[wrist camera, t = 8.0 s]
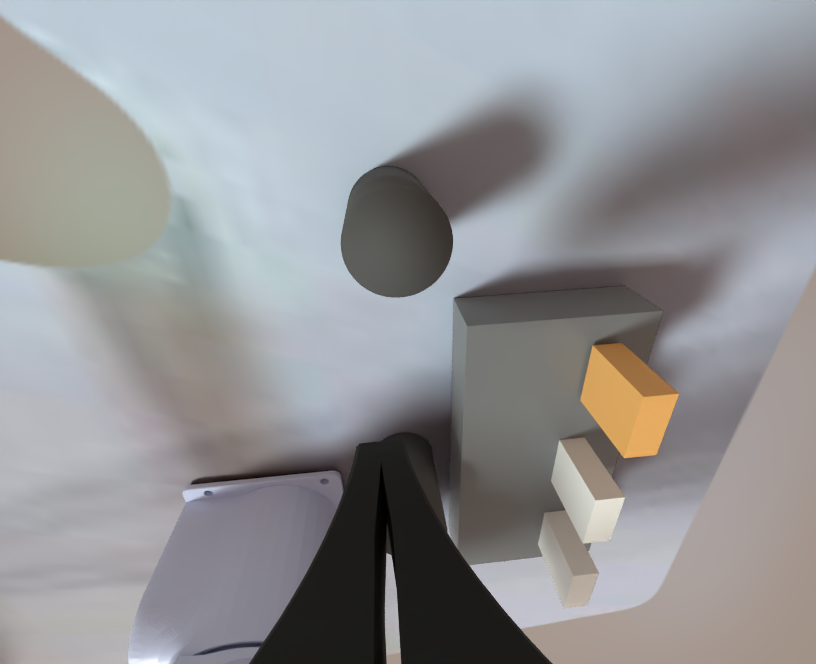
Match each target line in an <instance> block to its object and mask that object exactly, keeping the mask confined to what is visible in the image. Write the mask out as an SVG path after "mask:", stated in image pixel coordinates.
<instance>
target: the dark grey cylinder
mask: <svg viewBox="0 0 816 664" xmlns="http://www.w3.org/2000/svg"><path fill="white" fill-rule="evenodd" d="M452 248H453V235H452V229H451V226H450V222H449V220H448V218H447V216H446V214H445V212H444V211H443V209H442V208H441V207H440V206H439V204H438V203H437V202H436V201H435V200H434V198H433V197H432V196H431V195H430V194H429V192H428V191H427V190H426V189H425V188H424V186H423V185H422V184H421V183H420V182H419V180H418V179H417V178H416V177H415V176H413V175H412V174H411V173H409V172H408V171H406V170H404V169H401V168H398V167H392V166H385V167H379V168H375V169H373V170H370V171H369V172H367V173H365V174H364V175H363V176H362V177H360V179H359V180H358V181H357V182H356V183H355V185H354V186H353V188H352V190H351V193H350V195H349V200H348V205H347V210H346V215H345V219H344V224H343V229H342V234H341V251H342V256H343V259H344V262H345V265H346V267H347V269H348V271H349V272H350V274H351V275H352V276H353V278H354V279H355V280H356V281H357V282H358V283H359V284H360V285H361V286H363V287H364V288H366V289H367V290H369V291H371V292H373V293H376V294H378V295H382V296H386V297H406V296H411V295H414V294H417V293H419V292H421V291H423V290H425V289H427V288H428V287H430V286H431V285H432V284H433V283H435V282H436V281H437V280H438V278H439V277H440V276H441V275H442V274H443V272H444V271H445V269H446V267H447V265H448V263H449V260H450V257H451V253H452Z"/></svg>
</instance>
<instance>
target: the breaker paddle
mask: <svg viewBox="0 0 816 664" xmlns="http://www.w3.org/2000/svg"><path fill="white" fill-rule="evenodd" d="M678 396H679V393H678V392H677V391H676V390H675V389H673V388H672V387H671V386H670V385H669V384H668V383H667V382H665V381H664V380H663V379H662V378H661V377H660V376H659V375H658V374H656V373H655V372H654V371H653V370H652V369H651V368H650V367H649V366H647V365H646V364H645V363H644V362H643V361H642V360H641V359H639V358H638V357H637V356H636V355H635V354H634V353H633V352H632V351H630V350H629V349H628V348H627V347H626V346H625V345H624V344H622V343H614V344H602V345H592V350H591V354H590V359H589V363H588V368H587V372H586V377H585V381H584V386H583V390H582V395H581V399H580V401H581V402H582V403H583V405H584V406H585V407H586V409H587V410H588V411H589V413H590V414H591V415H592V417H593V418H594V419H595V420H596V422H597V423H598V424H599V426H600V427H601V428H602V430H603V431H604V432H605V434H606V435H607V436H608V438H609V439H610V440H611V442H612V443H613V444H614V446H615V447H616V448H617V450H618V451H619V452H620V454H621V455H622V456H623V457H624V458H632V457H641V456H651V455H657V452H658V449H659V447H660V444H661V441H662V439H663V436H664V433H665V431H666V428H667V425H668V423H669V420H670V417H671V415H672V412H673V409H674V407H675V404H676V401H677V399H678Z"/></svg>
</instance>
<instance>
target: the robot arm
mask: <svg viewBox="0 0 816 664" xmlns="http://www.w3.org/2000/svg"><path fill="white" fill-rule="evenodd" d="M183 496H184V499H185V501H186V504H185V506H184V508H183V510H182V512H181V515H180V517H179V519H178V521H177V523H176V525H175V527H174V530H173V532H172V534H171V536H170V538H169V540H168V543H167V545H166V547H165V549H164V551H163V553H162V555H161V558H160V560H159V562H158V564H157V566H156V568H155V571H154V573H153V575H152V577H151V579H150V581H149V583H148V586H147V588H146V590H145V592H144V594H143V597H142V599H141V602H140V604H139V607H138V610H137V613H136V616H135V620H134V624H133V628H132V632H131V637H130V643H129V651H128V664H386V642H385V579H386V546H387V526H388V533H389V540H390V546H391V553H392V560H393V567H394V574H395V580H396V587H397V599H398V615H399V632H400V648H401V664H552V663H551V662H550V661H549V660H548V659H547V658H546V657H545V656H544V655H543V654H542V652H541V651H540V650H539V649H538V648H537V647H536V646H535V645H534V644H533V643H532V642H531V641H530V639H529V638H528V637H527V636H526V635H525V634H524V633H523V632H522V630H521V629H520V628H519V627H518V626H517V625H516V624H515V622H514V621H513V620H512V619H511V618H510V617H509V616H508V614H507V613H506V612H505V611H504V610H503V608H502V607H501V606H500V605H499V603H498V602H497V601H496V600H495V598H494V597H493V596H492V595H491V593H490V592H489V591H488V590H487V588H486V587H485V586H484V585H483V583H482V582H481V581H480V580H479V578H478V577H477V576H476V574H475V573H474V571H473V570H472V569H471V567H470V566H469V565H468V563H467V562H466V560H465V559H464V558H463V556H462V555H461V553H460V552H459V550H458V549H457V547H456V546H455V544H454V543H453V541H452V540H451V538H450V537H449V535H448V533H447V532H446V530H445V529H444V527H443V525H442V523H441V522H440V520H439V518H438V517H437V515H436V513H435V511H434V510H433V508H432V506H431V504H430V502H429V500H428V498H427V497H426V495H425V493H424V491H423V489H422V487H421V485H420V483H419V480H418V478H417V476H416V474H415V471H414V469H413V467H412V464H411V461H410V459H409V456H408V453H407V449H406V445H405V442H404V441H402V440H392V441H382V442H371V443H361V444H359V445H358V446H357V447H356V452H355V457H354V461H353V465H352V468H351V472H350V475H349V478H348V481H347V484H346V487H345V489H344V490H343V485H342V479H341V475H340V473H339V472H337V471H324V472H314V473H304V474H294V475H284V476H274V477H264V478H254V479H244V480H234V481H224V482H214V483H204V484H194V485H188V486H187V487H185V489H184V492H183Z"/></svg>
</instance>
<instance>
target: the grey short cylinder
mask: <svg viewBox="0 0 816 664" xmlns="http://www.w3.org/2000/svg"><path fill="white" fill-rule="evenodd" d="M392 440H402V441H404V442H405V445H406V449H407V453H408V456H409V459H410V461H411V464H412V467H413V469H414V471H415V474H416V476H417V478H418V480H419V483H420V485H421V487H422V489H423V491H424V493H425V495H426V497H427V498H428V500H429V502H430V504H431V506H432V508H433V510H434V511H435V513H436V515H437V517H438V518H439V520H440V522H441V523H442V525H443V527H444V529H445V530H446V532H447V526H446V521H445V516H444V511H443V506H442V501H441V496H440V491H439V485H438V480H437V475H436V470H435V465H434V460H433V455H432V450H431V446H430V444H429V443H428V441H427V440H426V439H424V438H423V437H421V436H419V435H417V434H413V433H398V434H394V435H391V436H389V437H387V438H385V439H384V440H383V441H392ZM381 442H382V441H381ZM386 553H388V554H390V555H392V553H391V546H390V540H389V533H388V526H387V546H386Z"/></svg>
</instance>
